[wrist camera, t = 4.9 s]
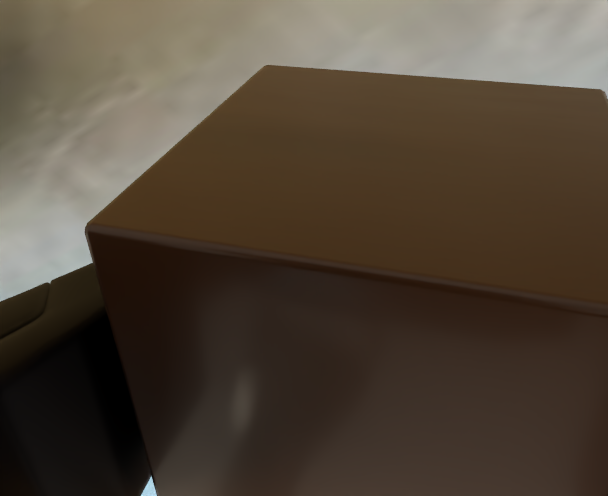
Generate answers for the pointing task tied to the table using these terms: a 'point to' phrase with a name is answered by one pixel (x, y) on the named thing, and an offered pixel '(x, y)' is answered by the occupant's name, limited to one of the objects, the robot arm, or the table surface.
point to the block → (369, 290)
